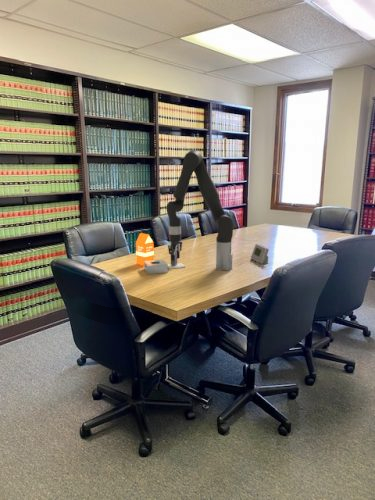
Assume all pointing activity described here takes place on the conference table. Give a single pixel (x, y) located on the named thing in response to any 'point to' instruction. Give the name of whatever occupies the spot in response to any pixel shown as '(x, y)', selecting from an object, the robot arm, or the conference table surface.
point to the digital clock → (260, 254)
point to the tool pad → (179, 265)
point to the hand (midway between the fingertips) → (175, 259)
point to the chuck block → (155, 266)
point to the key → (175, 259)
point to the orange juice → (144, 249)
